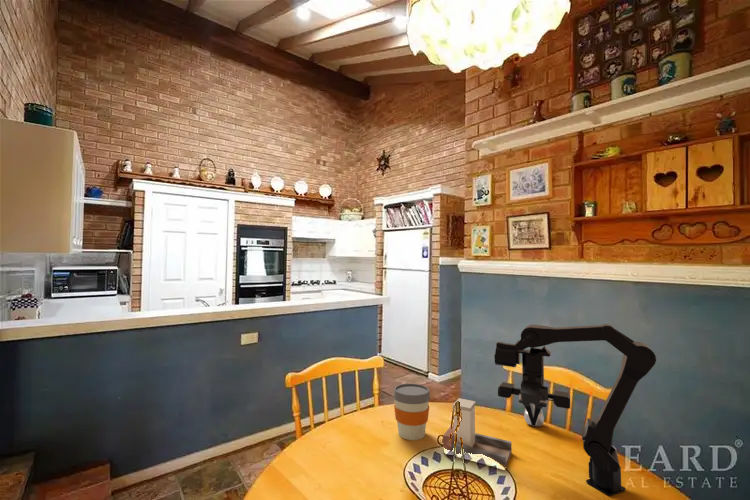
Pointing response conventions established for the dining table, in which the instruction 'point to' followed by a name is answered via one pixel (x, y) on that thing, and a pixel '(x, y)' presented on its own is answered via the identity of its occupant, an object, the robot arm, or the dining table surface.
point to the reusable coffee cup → (411, 410)
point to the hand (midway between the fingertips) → (533, 425)
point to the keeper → (466, 422)
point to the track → (482, 446)
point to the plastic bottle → (539, 419)
